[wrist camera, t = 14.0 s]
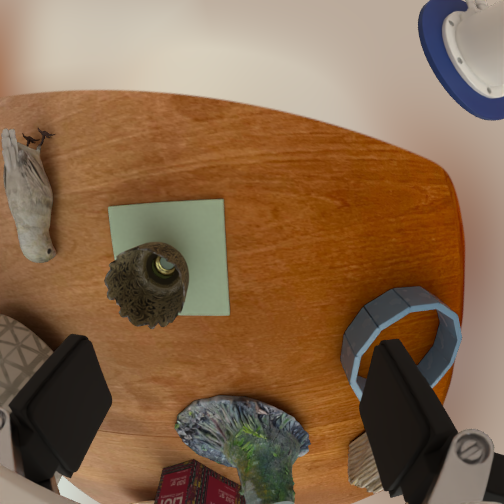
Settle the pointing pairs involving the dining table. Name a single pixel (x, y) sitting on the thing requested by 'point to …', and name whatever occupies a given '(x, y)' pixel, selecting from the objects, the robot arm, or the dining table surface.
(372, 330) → the ring
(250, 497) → the tree stump
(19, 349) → the planter
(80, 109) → the dining table surface
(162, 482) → the box
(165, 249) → the cup
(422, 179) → the dining table surface
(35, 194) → the decorative bird
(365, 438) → the fossil tooth
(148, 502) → the bowl
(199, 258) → the mat
